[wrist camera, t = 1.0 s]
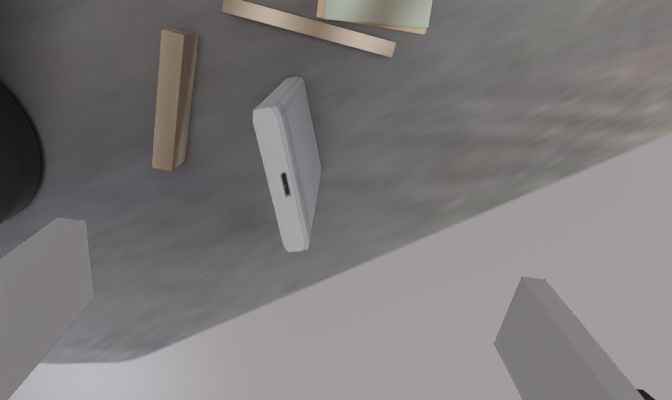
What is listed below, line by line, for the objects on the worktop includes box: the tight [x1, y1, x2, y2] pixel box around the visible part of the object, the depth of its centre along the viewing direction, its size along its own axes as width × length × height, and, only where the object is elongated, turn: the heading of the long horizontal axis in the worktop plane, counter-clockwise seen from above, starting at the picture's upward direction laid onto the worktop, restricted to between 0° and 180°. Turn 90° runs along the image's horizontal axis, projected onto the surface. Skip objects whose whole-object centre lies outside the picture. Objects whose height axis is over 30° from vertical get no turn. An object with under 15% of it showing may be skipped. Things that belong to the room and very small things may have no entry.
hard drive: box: [253, 76, 321, 252], centre depth 27 cm, size 2×8×12 cm, turn 10°
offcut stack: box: [316, 0, 432, 34], centre depth 28 cm, size 8×3×1 cm, turn 82°
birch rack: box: [152, 0, 396, 172], centre depth 30 cm, size 16×13×3 cm
